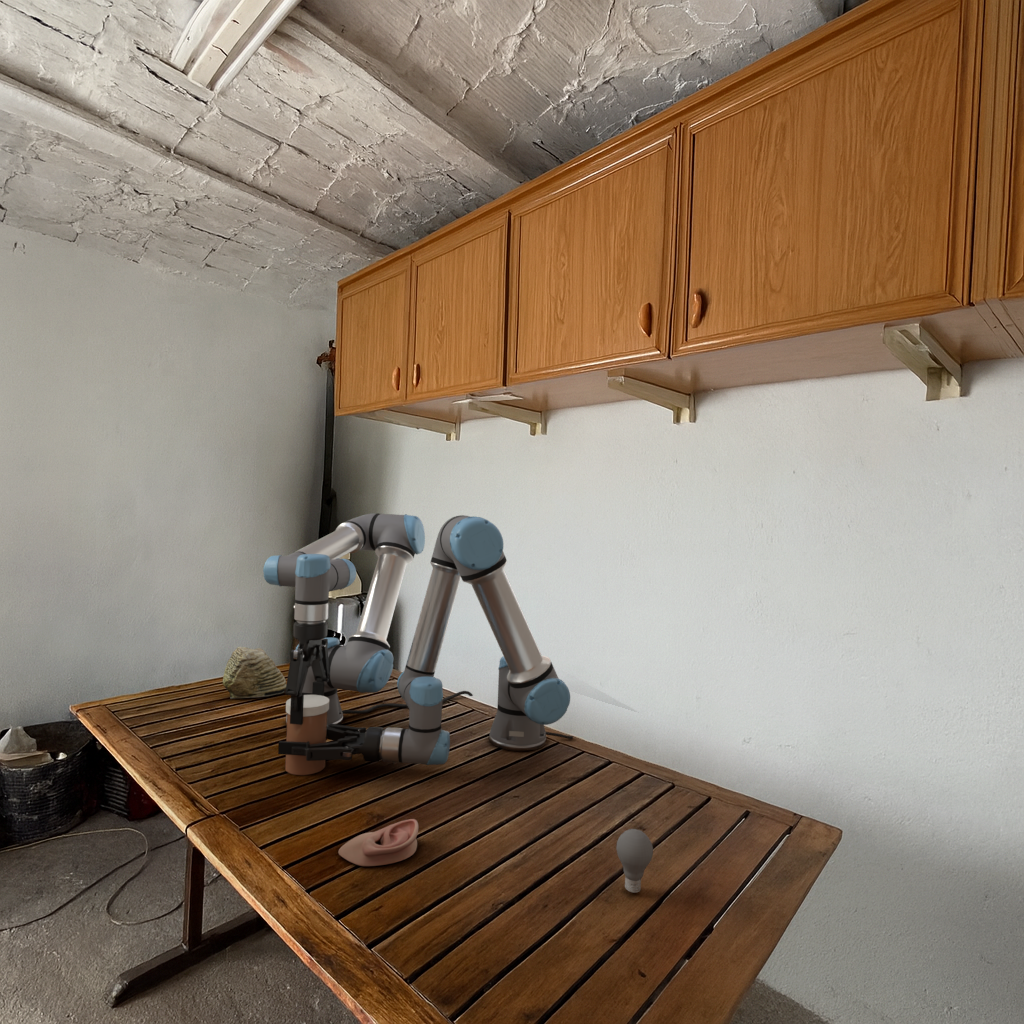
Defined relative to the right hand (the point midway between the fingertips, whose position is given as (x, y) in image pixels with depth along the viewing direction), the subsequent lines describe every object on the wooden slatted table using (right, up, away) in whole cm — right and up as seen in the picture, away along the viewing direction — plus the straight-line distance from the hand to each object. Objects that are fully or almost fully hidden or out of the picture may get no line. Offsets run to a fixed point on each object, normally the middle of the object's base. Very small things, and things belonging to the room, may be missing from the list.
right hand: (287, 739), depth 148 cm
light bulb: (+73, -10, -42) cm, 85 cm away
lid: (+5, +9, 0) cm, 10 cm away
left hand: (+5, +5, 0) cm, 7 cm away
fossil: (-28, -4, +50) cm, 57 cm away
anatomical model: (+29, -8, -34) cm, 45 cm away
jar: (+4, -6, 0) cm, 8 cm away
